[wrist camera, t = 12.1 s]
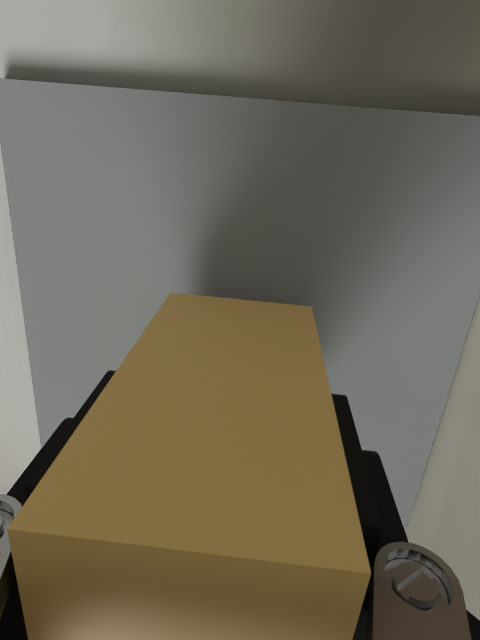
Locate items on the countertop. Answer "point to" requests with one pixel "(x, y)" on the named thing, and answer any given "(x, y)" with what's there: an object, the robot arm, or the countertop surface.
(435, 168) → the grey mat
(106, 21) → the countertop surface
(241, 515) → the ochre block
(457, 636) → the robot arm
